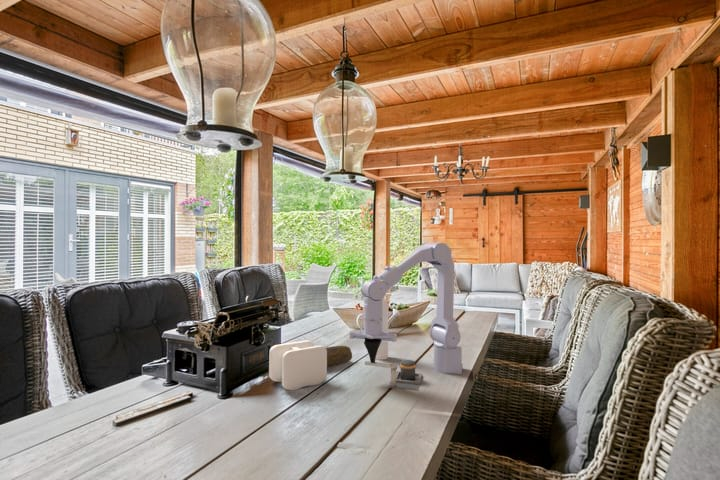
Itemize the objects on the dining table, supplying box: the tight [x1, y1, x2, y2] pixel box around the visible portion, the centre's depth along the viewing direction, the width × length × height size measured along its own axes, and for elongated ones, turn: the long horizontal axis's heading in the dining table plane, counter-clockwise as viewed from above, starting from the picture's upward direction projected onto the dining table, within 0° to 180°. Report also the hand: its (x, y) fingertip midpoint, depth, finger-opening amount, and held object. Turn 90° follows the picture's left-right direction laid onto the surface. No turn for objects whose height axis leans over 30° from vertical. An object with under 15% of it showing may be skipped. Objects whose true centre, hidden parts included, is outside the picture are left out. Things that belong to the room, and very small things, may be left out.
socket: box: [387, 368, 423, 391], centre depth 116 cm, size 9×14×6 cm, turn 166°
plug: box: [399, 359, 416, 381], centre depth 117 cm, size 5×5×5 cm
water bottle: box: [375, 292, 392, 361], centre depth 139 cm, size 9×6×25 cm
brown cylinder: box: [325, 345, 353, 368], centre depth 132 cm, size 15×7×7 cm, turn 132°
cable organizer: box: [268, 339, 328, 392], centre depth 116 cm, size 15×11×12 cm
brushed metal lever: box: [364, 360, 398, 370], centre depth 113 cm, size 10×2×1 cm, turn 70°
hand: (372, 362), depth 116 cm, fingers closed, pressing on brushed metal lever
